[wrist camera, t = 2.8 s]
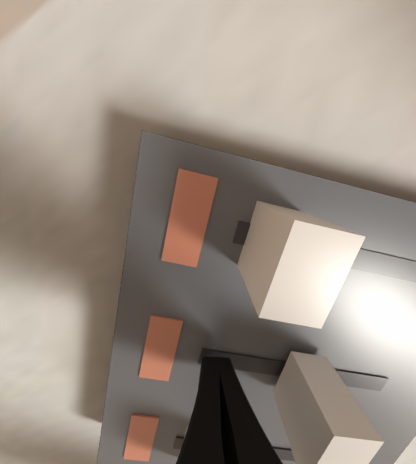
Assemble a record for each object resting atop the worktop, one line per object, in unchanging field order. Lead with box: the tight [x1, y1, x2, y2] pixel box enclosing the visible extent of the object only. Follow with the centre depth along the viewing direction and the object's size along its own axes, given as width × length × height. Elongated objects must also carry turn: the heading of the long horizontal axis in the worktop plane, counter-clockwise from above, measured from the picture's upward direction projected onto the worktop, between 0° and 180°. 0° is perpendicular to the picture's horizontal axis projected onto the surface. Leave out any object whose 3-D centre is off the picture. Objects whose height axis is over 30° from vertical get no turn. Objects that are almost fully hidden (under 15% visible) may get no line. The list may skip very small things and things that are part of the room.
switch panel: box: [97, 130, 416, 464], centre depth 11 cm, size 20×20×6 cm
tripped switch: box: [273, 351, 384, 464], centre depth 9 cm, size 2×3×4 cm, turn 166°
